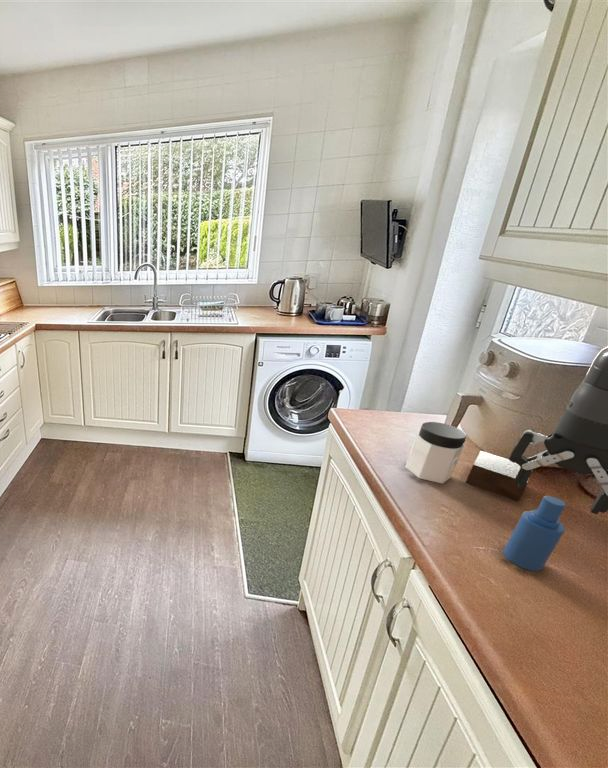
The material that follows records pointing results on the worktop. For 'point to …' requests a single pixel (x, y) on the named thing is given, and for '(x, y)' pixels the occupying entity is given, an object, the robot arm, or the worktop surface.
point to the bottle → (536, 535)
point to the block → (496, 475)
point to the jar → (436, 451)
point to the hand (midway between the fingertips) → (555, 498)
